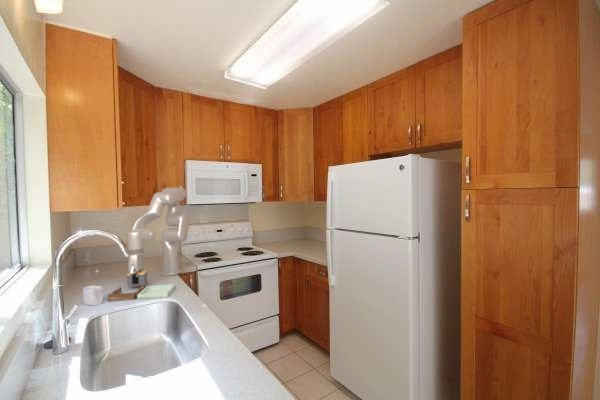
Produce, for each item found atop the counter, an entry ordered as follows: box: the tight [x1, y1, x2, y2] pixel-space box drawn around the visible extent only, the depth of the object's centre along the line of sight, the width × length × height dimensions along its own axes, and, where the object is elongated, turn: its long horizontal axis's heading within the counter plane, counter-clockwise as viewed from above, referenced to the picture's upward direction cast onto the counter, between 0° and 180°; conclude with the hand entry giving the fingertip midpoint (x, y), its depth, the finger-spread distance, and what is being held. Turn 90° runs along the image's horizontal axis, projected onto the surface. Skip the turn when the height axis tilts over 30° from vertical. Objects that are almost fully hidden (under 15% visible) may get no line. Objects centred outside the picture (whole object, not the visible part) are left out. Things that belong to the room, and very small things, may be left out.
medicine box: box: [82, 284, 104, 307], centre depth 139 cm, size 8×4×9 cm, turn 74°
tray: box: [136, 283, 176, 300], centre depth 152 cm, size 14×15×2 cm
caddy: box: [126, 270, 148, 287], centre depth 161 cm, size 5×9×7 cm, turn 99°
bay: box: [107, 284, 146, 302], centre depth 149 cm, size 12×13×4 cm
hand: (137, 281), depth 162 cm, fingers closed on caddy, 5 cm apart
